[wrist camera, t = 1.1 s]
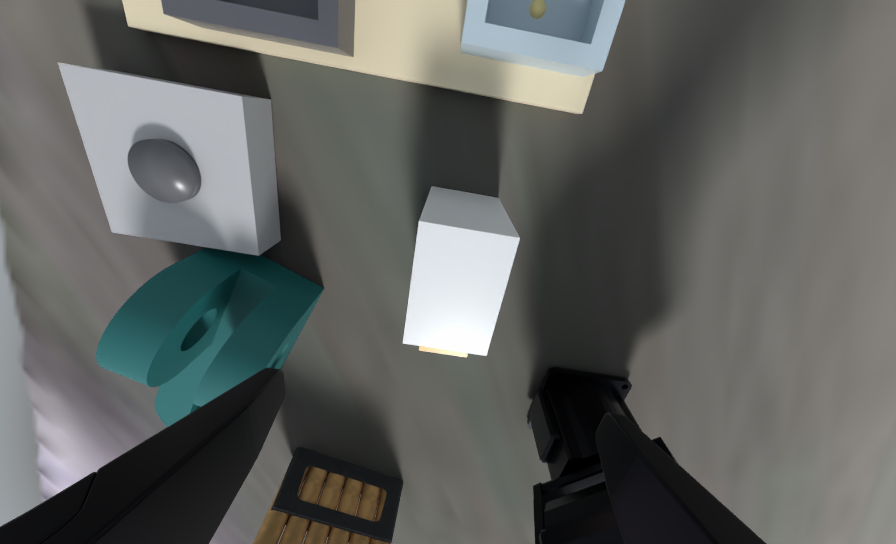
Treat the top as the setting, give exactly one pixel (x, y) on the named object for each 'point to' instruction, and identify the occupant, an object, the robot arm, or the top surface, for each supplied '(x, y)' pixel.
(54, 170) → the top surface
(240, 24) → the frame
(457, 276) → the plug
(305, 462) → the ammunition clip
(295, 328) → the bracket
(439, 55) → the board
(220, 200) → the grey knob block
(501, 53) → the header 3pin
